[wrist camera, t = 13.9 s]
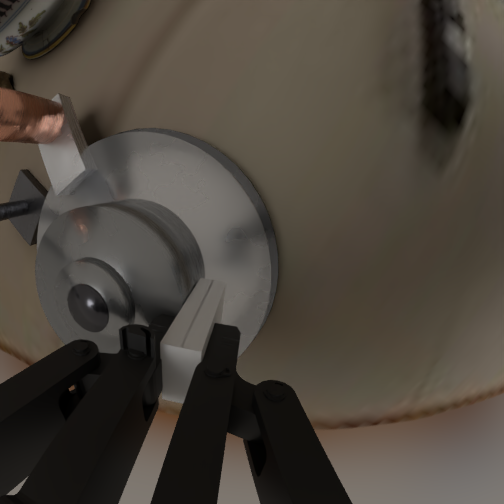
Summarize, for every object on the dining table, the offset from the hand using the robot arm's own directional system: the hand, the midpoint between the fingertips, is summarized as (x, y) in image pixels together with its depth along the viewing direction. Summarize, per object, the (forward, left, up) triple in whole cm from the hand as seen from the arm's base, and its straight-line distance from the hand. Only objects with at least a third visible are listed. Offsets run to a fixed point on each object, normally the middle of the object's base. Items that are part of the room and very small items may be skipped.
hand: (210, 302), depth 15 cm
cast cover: (+5, +2, -2) cm, 5 cm away
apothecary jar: (+31, -9, -5) cm, 33 cm away
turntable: (+7, +2, -3) cm, 8 cm away
